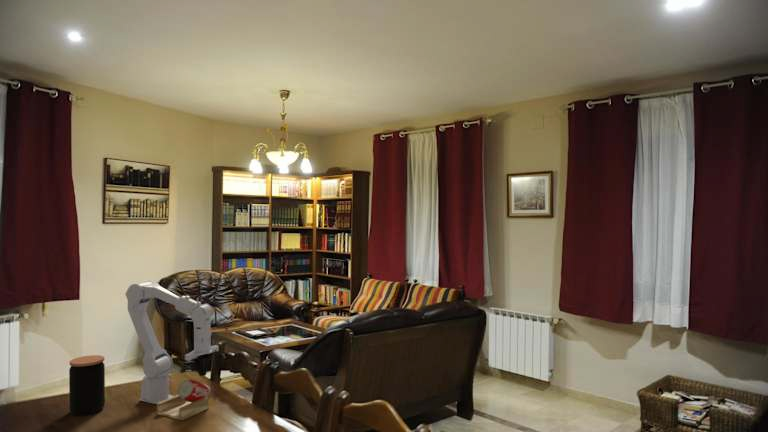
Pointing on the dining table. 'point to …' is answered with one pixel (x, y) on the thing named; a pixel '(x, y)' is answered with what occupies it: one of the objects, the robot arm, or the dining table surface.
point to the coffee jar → (87, 385)
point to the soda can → (193, 390)
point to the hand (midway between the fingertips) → (202, 375)
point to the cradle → (181, 407)
